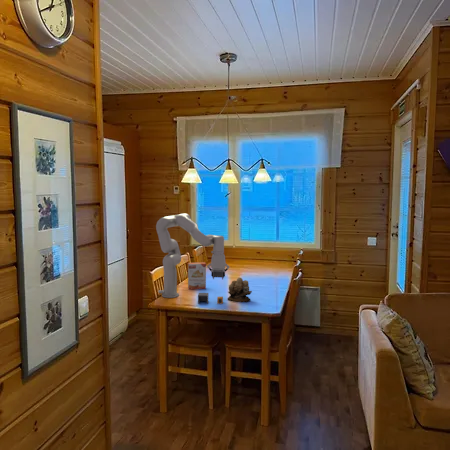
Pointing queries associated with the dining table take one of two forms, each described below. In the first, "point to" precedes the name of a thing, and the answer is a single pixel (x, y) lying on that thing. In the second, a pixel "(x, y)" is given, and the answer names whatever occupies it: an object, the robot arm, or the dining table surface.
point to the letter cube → (219, 300)
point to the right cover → (218, 273)
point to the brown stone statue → (239, 291)
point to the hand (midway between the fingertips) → (218, 277)
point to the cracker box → (197, 275)
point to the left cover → (203, 297)
